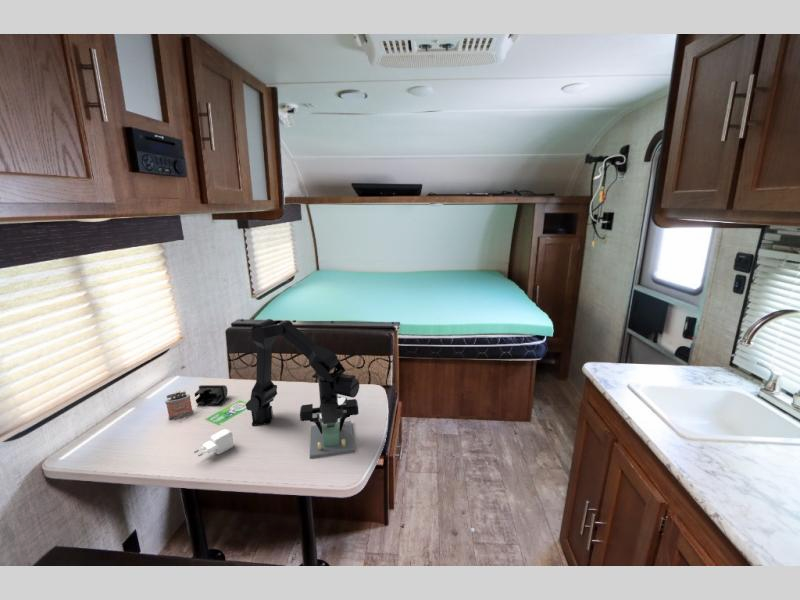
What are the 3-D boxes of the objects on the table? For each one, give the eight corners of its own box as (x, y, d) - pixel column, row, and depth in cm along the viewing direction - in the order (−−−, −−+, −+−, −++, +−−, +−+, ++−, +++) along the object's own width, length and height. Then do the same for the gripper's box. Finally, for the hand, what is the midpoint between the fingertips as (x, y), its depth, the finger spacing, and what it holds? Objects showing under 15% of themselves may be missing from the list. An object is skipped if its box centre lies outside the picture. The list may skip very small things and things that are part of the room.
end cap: (228, 397, 152) (226, 382, 150) (220, 406, 145) (218, 391, 143) (205, 397, 152) (202, 382, 150) (195, 406, 145) (192, 391, 143)
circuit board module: (324, 446, 119) (323, 434, 118) (324, 430, 127) (323, 418, 126) (339, 444, 120) (338, 432, 119) (338, 428, 128) (337, 417, 127)
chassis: (309, 458, 115) (308, 448, 114) (311, 428, 130) (310, 419, 129) (354, 451, 118) (353, 442, 117) (350, 423, 133) (350, 414, 132)
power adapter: (201, 466, 112) (198, 450, 111) (194, 460, 115) (191, 444, 114) (235, 447, 121) (233, 431, 119) (228, 441, 124) (225, 426, 122)
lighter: (192, 409, 143) (188, 387, 140) (193, 414, 140) (189, 390, 137) (168, 416, 138) (163, 393, 136) (169, 421, 136) (163, 397, 133)
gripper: (296, 407, 110) (301, 451, 114) (359, 400, 113) (361, 443, 117) (299, 389, 120) (303, 430, 124) (356, 382, 124) (358, 423, 128)
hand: (331, 431), depth 123 cm, fingers open, 6 cm apart
